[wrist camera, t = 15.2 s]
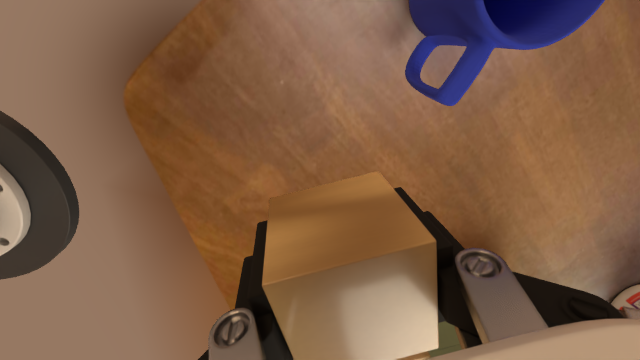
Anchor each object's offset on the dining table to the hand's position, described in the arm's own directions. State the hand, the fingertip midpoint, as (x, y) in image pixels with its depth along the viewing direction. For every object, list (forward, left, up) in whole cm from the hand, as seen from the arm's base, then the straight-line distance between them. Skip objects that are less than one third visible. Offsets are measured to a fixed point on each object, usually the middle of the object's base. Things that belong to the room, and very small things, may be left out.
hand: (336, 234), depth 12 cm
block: (0, 0, 0) cm, 0 cm away
